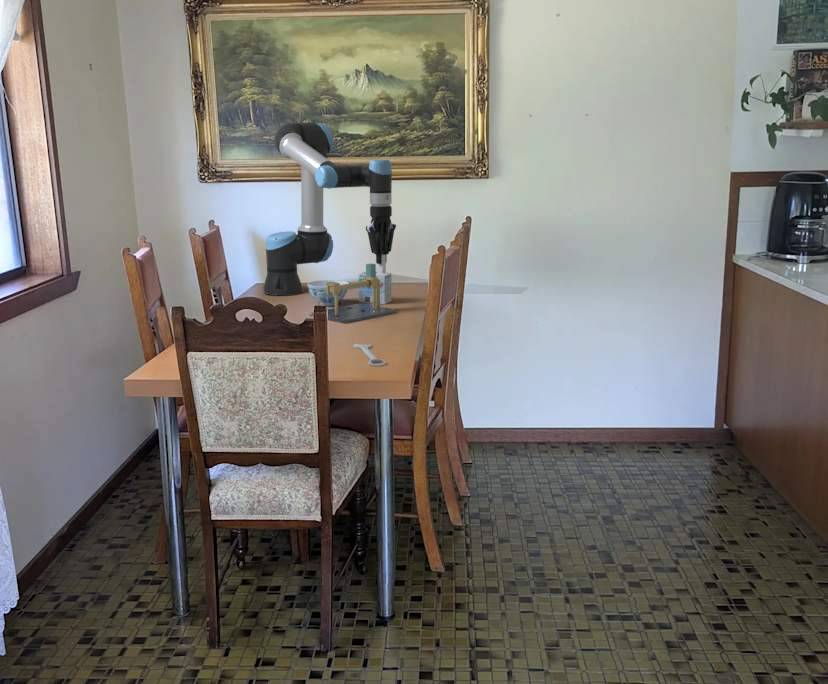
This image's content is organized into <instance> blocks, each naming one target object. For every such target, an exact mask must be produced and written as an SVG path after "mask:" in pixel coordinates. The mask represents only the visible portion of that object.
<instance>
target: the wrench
mask: <svg viewBox="0 0 828 684" xmlns="http://www.w3.org/2000/svg"><path fill="white" fill-rule="evenodd" d="M372 345H373V344H370V343H369V344H360V343H355V344H353V348H354V349H356V348H357V350H361V349H362V350H361V351H362V352H363V353H364V354H365V356H366V357H368V358H369V360H367V365H368V366H369V367H370V366H371V367H383V366H386V365H387V361H386V360H384V359H382V358H377V356H376V355H375V354H374V353H373V352H372V351H371V350H370V349H371V348H372ZM368 348H369V349H368ZM380 362H381V363H380ZM378 363H379V364H378Z"/></svg>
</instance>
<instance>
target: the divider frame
mask: <svg viewBox="0 0 828 684" xmlns="http://www.w3.org/2000/svg"><path fill="white" fill-rule="evenodd" d="M326 285H327V294H333V295H335V305H334V308H335V316H338V307H339V302H338V295H340V291H341V290H347V289H348V290H352V289H359V287H365V286H371V280H367V281H361V282H359V281H356V282H351V283H349V284H343V285H340V283H337V282H326ZM348 290H347V291H348ZM376 307H381V304H380V279H377V288H376Z"/></svg>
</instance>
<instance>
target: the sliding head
mask: <svg viewBox="0 0 828 684" xmlns="http://www.w3.org/2000/svg"><path fill="white" fill-rule="evenodd" d="M365 272H366V276H365V281H367V280H371V286H365V288H368V287H371V289H372V290H373V303H372V305H373V307H374V308H375V307H376V288H377V277H376V272H377V263H372V262H370V263H366V264H365Z"/></svg>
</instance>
